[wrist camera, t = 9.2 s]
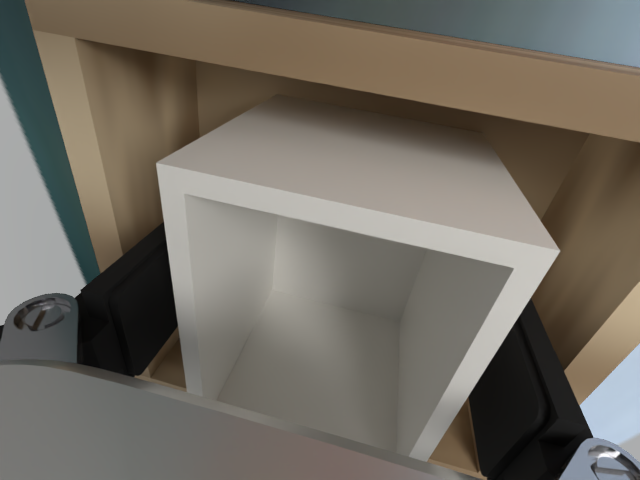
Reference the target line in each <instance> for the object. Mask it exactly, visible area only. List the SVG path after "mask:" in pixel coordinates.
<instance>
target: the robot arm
mask: <svg viewBox="0 0 640 480" xmlns="http://www.w3.org/2000/svg"><path fill="white" fill-rule="evenodd" d="M177 327H178V322H177V314H176V307H175V300H174V292H173V285H172V277H171V270H170V263H169V255H168V248H167V241H166V233H165V226H164V222H163V223H161V224H160V225H159V226H158V227H157V228H155V229H154V230H153V231H152V232H150V233H149V234H148V235H147V236H146V237H144V238H143V239H142V240H141V241H140V242H138V243H137V244H136V245H135V246H133V247H132V248H131V249H130V250H129V251H127V252H126V253H125V254H124V255H123V256H121V257H120V258H119V259H118V260H117V261H115V262H114V263H113V264H112V265H110V266H109V267H108V268H107V269H106V270H104V271H103V272H102V273H101V274H100V275H98V276H97V277H96V278H95V279H93V280H92V281H91V282H90V283H89V284H87V285H86V286H85V287H84V288H83V289H81V293H80V294H79V295H78V296H76V297H75V298H73V297H72V296H70V295H67V294H60V293H52V294H45V295H41V296H38V297H34V298H32V299H29V300H27V301H25V302H23V303H22V304H20V305H19V306H17V307H16V308H14V309H13V310H12V311H11V313H10V314H9V315H8V317H7V319H6V321H5V324H4V325H2V326H0V480H483V479H480V478H477V477H473V476H470V475H467V474H464V473H461V472H458V471H454V470H451V469H448V468H445V467H442V466H438V465H435V464H431V463H428V462H425V461H421V460H418V459H415V458H411V457H408V456H404V455H401V454H398V453H394V452H391V451H388V450H384V449H381V448H377V447H374V446H371V445H367V444H364V443H361V442H357V441H354V440H350V439H347V438H344V437H340V436H337V435H333V434H330V433H326V432H323V431H320V430H316V429H313V428H309V427H306V426H302V425H299V424H296V423H292V422H289V421H285V420H282V419H278V418H275V417H271V416H268V415H265V414H261V413H258V412H254V411H251V410H247V409H244V408H240V407H237V406H233V405H230V404H226V403H223V402H219V401H216V400H212V399H209V398H205V397H202V396H198V395H195V394H191V393H188V392H184V391H181V390H177V389H174V388H170V387H167V386H163V385H160V384H156V383H153V382H149V381H145V380H141V379H138V378H134V377H135V376H139V375H141V374H142V373H143V372H144V371H145V369H146V368H147V367H148V365H149V364H150V363H151V362H152V360H153V359H154V358H155V356H156V355H157V354H158V352H159V351H160V350H161V348H162V347H163V346H164V344H165V343H166V342H167V340H168V339H169V338H170V336H171V335H172V334H173V332H174V331H175V330H176V328H177ZM468 398H469V404H470V411H471V417H472V423H473V430H474V436H475V442H476V448H477V455H478V461H479V467H480V472H481V474H482V475H483V476H484V477H487V480H640V462H638V461H637V460H636V459H635V458H634V457H633V456H632V455H630V454H629V453H628V452H627V451H625V450H624V449H622V448H621V447H619V446H618V445H616V444H614V443H611V442H609V441H607V440H604V439H599V438H593V435H592V433H591V431H590V429H589V426H588V424H587V422H586V420H585V417H584V415H583V413H582V411H581V408H580V406H579V404H578V402H577V399H576V397H575V395H574V393H573V390H572V388H571V386H570V384H569V381H568V379H567V377H566V375H565V372H564V370H563V368H562V366H561V363H560V361H559V359H558V356H557V354H556V352H555V350H554V349H553V347H552V344H551V342H550V340H549V337H548V335H547V333H546V331H545V328H544V326H543V324H542V322H541V319H540V317H539V315H538V313H537V310H536V308H535V306H534V303H533V301H532V299H531V298H530V300H529V301H528V303H527V305H526V306H525V308H524V309H523V311H522V312H521V314H520V316H519V317H518V319H517V320H516V322H515V323H514V325H513V327H512V328H511V330H510V331H509V333H508V335H507V336H506V338H505V339H504V341H503V342H502V344H501V346H500V347H499V349H498V350H497V352H496V353H495V355H494V357H493V358H492V360H491V361H490V363H489V364H488V366H487V368H486V369H485V371H484V372H483V374H482V376H481V377H480V379H479V380H478V382H477V383H476V385H475V387H474V388H473V390H472V391H471V393H470V394H469V396H468Z"/></svg>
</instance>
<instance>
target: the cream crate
mask: <svg viewBox="0 0 640 480" xmlns="http://www.w3.org/2000/svg"><path fill="white" fill-rule="evenodd" d="M156 167H157V175H158V182H159V189H160V197H161V204H162V211H163V219H164V226H165V233H166V241H167V248H168V255H169V263H170V270H171V277H172V285H173V292H174V300H175V307H176V314H177V322H178V329H179V336H180V344H181V351H182V358H183V366H184V373H185V380H186V388H187V392H188V393H191V394H195V395H198V396H202V397H205V398H209V399H212V400H216V401H219V402H223V403H226V404H230V405H233V406H237V407H240V408H244V409H247V410H251V411H254V412H258V413H261V414H265V415H268V416H271V417H275V418H278V419H282V420H285V421H289V422H292V423H296V424H299V425H302V426H306V427H309V428H313V429H316V430H320V431H323V432H326V433H330V434H333V435H337V436H340V437H344V438H347V439H350V440H354V441H357V442H361V443H364V444H367V445H371V446H374V447H377V448H381V449H384V450H388V451H391V452H394V453H398V454H401V455H404V456H408V457H411V458H415V459H418V460H421V461H425V462H427V461H428V459H429V458H430V456H431V454H432V453H433V451H434V450H435V448H436V447H437V445H438V443H439V442H440V440H441V439H442V437H443V435H444V434H445V432H446V431H447V429H448V428H449V426H450V424H451V423H452V421H453V420H454V418H455V417H456V415H457V413H458V412H459V410H460V409H461V407H462V405H463V404H464V402H465V401H466V399H467V398H468V396H469V394H470V393H471V391H472V390H473V388H474V387H475V385H476V383H477V382H478V380H479V379H480V377H481V376H482V374H483V372H484V371H485V369H486V368H487V366H488V364H489V363H490V361H491V360H492V358H493V357H494V355H495V353H496V352H497V350H498V349H499V347H500V346H501V344H502V342H503V341H504V339H505V338H506V336H507V335H508V333H509V331H510V330H511V328H512V327H513V325H514V323H515V322H516V320H517V319H518V317H519V316H520V314H521V312H522V311H523V309H524V308H525V306H526V305H527V303H528V301H529V300H530V298H531V297H532V295H533V293H534V292H535V290H536V289H537V287H538V286H539V284H540V282H541V281H542V279H543V278H544V276H545V275H546V273H547V271H548V270H549V268H550V267H551V265H552V264H553V262H554V260H555V259H556V257H557V256H558V254H559V252H560V250H559V248H558V247H557V245H556V243H555V242H554V240H553V239H552V237H551V236H550V234H549V233H548V231H547V230H546V228H545V227H544V225H543V224H542V222H541V221H540V219H539V218H538V216H537V215H536V213H535V212H534V210H533V209H532V207H531V205H530V204H529V202H528V201H527V199H526V198H525V196H524V195H523V193H522V192H521V190H520V189H519V187H518V186H517V184H516V183H515V181H514V180H513V178H512V177H511V175H510V174H509V172H508V171H507V169H506V167H505V166H504V164H503V163H502V161H501V160H500V158H499V157H498V155H497V154H496V152H495V151H494V149H493V148H492V146H491V145H490V143H489V142H488V140H487V139H486V137H485V136H484V134H483V133H480V132H475V131H469V130H464V129H459V128H453V127H448V126H443V125H437V124H432V123H427V122H422V121H416V120H411V119H406V118H400V117H395V116H390V115H384V114H379V113H374V112H369V111H363V110H358V109H353V108H347V107H342V106H337V105H331V104H326V103H321V102H316V101H310V100H305V99H300V98H294V97H289V96H284V95H278V94H276V95H275V96H273V97H271V98H269V99H268V100H266V101H264V102H262V103H260V104H259V105H257V106H255V107H253V108H252V109H250V110H248V111H246V112H245V113H243V114H241V115H239V116H238V117H236V118H234V119H232V120H230V121H229V122H227V123H225V124H223V125H222V126H220V127H218V128H216V129H215V130H213V131H211V132H209V133H208V134H206V135H204V136H202V137H200V138H199V139H197V140H195V141H193V142H192V143H190V144H188V145H186V146H185V147H183V148H181V149H179V150H178V151H176V152H174V153H172V154H170V155H169V156H167V157H165V158H163V159H162V160H160V161H158V162H156Z"/></svg>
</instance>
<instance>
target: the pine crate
mask: <svg viewBox="0 0 640 480" xmlns="http://www.w3.org/2000/svg"><path fill="white" fill-rule="evenodd" d="M25 4H26V7H27V11H28V15H29V18H30V22H31V25H32V29H33V33H34V36H35V40H36V43H37V47H38V51H39V54H40V58H41V61H42V65H43V69H44V72H45V76H46V79H47V83H48V87H49V90H50V94H51V97H52V101H53V105H54V108H55V112H56V115H57V119H58V123H59V126H60V130H61V133H62V137H63V141H64V144H65V148H66V151H67V155H68V158H69V162H70V166H71V169H72V173H73V176H74V180H75V184H76V187H77V191H78V194H79V198H80V202H81V205H82V209H83V212H84V216H85V220H86V223H87V227H88V230H89V234H90V238H91V241H92V245H93V248H94V252H95V256H96V259H97V263H98V266H99V270H100V274H101V273H102V272H103V271H104V270H106V269H107V268H108V267H109V266H110V265H112V264H113V263H114V262H115V261H117V260H118V259H119V258H120V257H121V256H123V255H124V254H125V253H126V252H127V251H129V250H130V249H131V248H132V247H133V246H135V245H136V244H137V243H138V242H140V241H141V240H142V239H143V238H144V237H146V236H147V235H148V234H149V233H150V232H152V231H153V230H154V229H155V228H157V227H158V226H159V225H160V224H161V223H163V222H164V219H163V211H162V204H161V197H160V189H159V182H158V175H157V167H156V162H158V161H160V160H162V159H163V158H165V157H167V156H169V155H170V154H172V153H174V152H176V151H178V150H179V149H181V148H183V147H185V146H186V145H188V144H190V143H192V142H193V141H195V140H197V139H199V138H200V137H202V136H204V135H206V134H208V133H209V132H211V131H213V130H215V129H216V128H218V127H220V126H222V125H223V124H225V123H227V122H229V121H230V120H232V119H234V118H236V117H238V116H239V115H241V114H243V113H245V112H246V111H248V110H250V109H252V108H253V107H255V106H257V105H259V104H260V103H262V102H264V101H266V100H268V99H269V98H271V97H273V96H275V95H276V94H278V95H284V96H289V97H294V98H300V99H305V100H310V101H316V102H321V103H326V104H331V105H337V106H342V107H347V108H353V109H358V110H363V111H369V112H374V113H379V114H384V115H390V116H395V117H400V118H406V119H411V120H416V121H422V122H427V123H432V124H437V125H443V126H448V127H453V128H459V129H464V130H469V131H475V132H480V133H483V134H484V136H485V137H486V139H487V140H488V142H489V143H490V145H491V146H492V148H493V149H494V151H495V152H496V154H497V155H498V157H499V158H500V160H501V161H502V163H503V164H504V166H505V167H506V169H507V171H508V172H509V174H510V175H511V177H512V178H513V180H514V181H515V183H516V184H517V186H518V187H519V189H520V190H521V192H522V193H523V195H524V196H525V198H526V199H527V201H528V202H529V204H530V205H531V207H532V209H533V210H534V212H535V213H536V215H537V216H538V218H539V219H540V221H541V222H542V224H543V225H544V227H545V228H546V230H547V231H548V233H549V234H550V236H551V237H552V239H553V240H554V242H555V243H556V245H557V247H558V248H559V250H560V252H559V254H558V256H557V257H556V259H555V260H554V262H553V264H552V265H551V267H550V268H549V270H548V271H547V273H546V275H545V276H544V278H543V279H542V281H541V282H540V284H539V286H538V287H537V289H536V290H535V292H534V293H533V295H532V297H531V299H532V301H533V303H534V306H535V308H536V310H537V313H538V315H539V317H540V319H541V322H542V324H543V326H544V328H545V331H546V333H547V335H548V337H549V340H550V342H551V344H552V347H553V349H554V350H555V352H556V354H557V356H558V359H559V361H560V363H561V366H562V368H563V370H564V372H565V375H566V377H567V379H568V381H569V384H570V386H571V388H572V390H573V393H574V395H575V397H576V399H577V402H578V404H579V405H580V404H581V403H582V402H583V401H584V400H585V399H586V398H587V397H588V396H589V395H590V394H591V393H592V392H593V391H594V390H595V389H596V388H597V387H598V386H599V385H600V384H601V383H602V382H603V380H604V379H605V378H606V377H607V376H608V375H609V374H610V373H611V372H612V371H613V370H614V369H615V368H616V367H617V366H618V365H619V364H620V363H621V362H622V361H623V360H624V359H625V358H626V357H627V356H628V355H629V354H630V353H631V352H632V351H633V349H634V348H635V347H636V346H637V345H638V344H639V343H640V68H638V67H632V66H626V65H620V64H614V63H608V62H602V61H595V60H589V59H583V58H577V57H571V56H565V55H559V54H553V53H547V52H541V51H535V50H529V49H523V48H516V47H510V46H504V45H498V44H492V43H486V42H480V41H474V40H468V39H462V38H456V37H450V36H444V35H437V34H431V33H425V32H419V31H413V30H407V29H401V28H395V27H389V26H383V25H377V24H371V23H365V22H358V21H352V20H346V19H340V18H334V17H328V16H322V15H316V14H310V13H304V12H298V11H292V10H286V9H279V8H273V7H267V6H261V5H255V4H249V3H243V2H237V1H231V0H25ZM134 378H138V379H141V380H145V381H149V382H153V383H156V384H160V385H163V386H167V387H170V388H174V389H177V390H181V391H184V392H187V388H186V380H185V373H184V366H183V358H182V351H181V344H180V336H179V329H178V327H177V328H176V330H175V331H174V332H173V334H172V335H171V336H170V338H169V339H168V340H167V342H166V343H165V344H164V346H163V347H162V348H161V350H160V351H159V352H158V354H157V355H156V356H155V358H154V359H153V360H152V362H151V363H150V364H149V365H148V367H147V368H146V369H145V371H144V372H143V373H142V374H141V375H139V376H135V377H134ZM427 462H428V463H431V464H435V465H438V466H442V467H445V468H448V469H451V470H454V471H458V472H461V473H464V474H467V475H470V476H473V477H477V478H480V479H483V480H487V477H484V476H483V475H482V474H481V472H480V467H479V461H478V455H477V448H476V442H475V436H474V430H473V423H472V417H471V411H470V404H469V398H467V399H466V401H465V402H464V404H463V405H462V407H461V409H460V410H459V412H458V413H457V415H456V417H455V418H454V420H453V421H452V423H451V424H450V426H449V428H448V429H447V431H446V432H445V434H444V435H443V437H442V439H441V440H440V442H439V443H438V445H437V447H436V448H435V450H434V451H433V453H432V454H431V456H430V458H429V459H428V461H427Z"/></svg>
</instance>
